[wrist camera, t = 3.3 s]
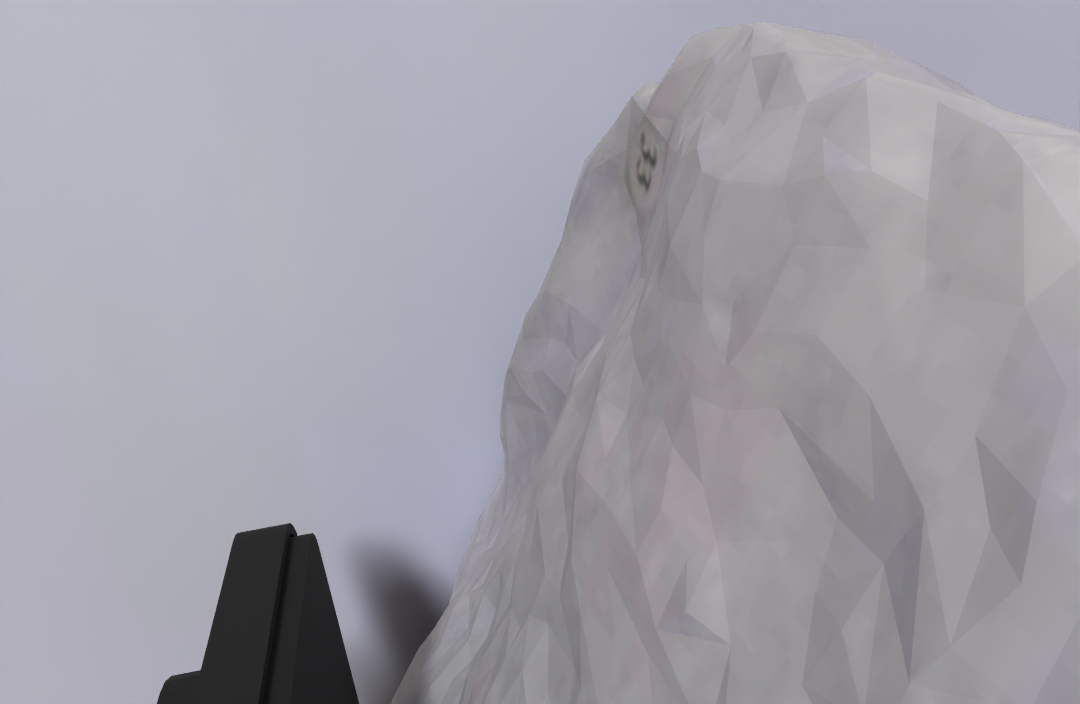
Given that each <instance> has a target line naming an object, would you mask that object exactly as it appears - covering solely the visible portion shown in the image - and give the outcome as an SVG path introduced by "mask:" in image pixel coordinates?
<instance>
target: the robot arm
mask: <svg viewBox="0 0 1080 704" xmlns="http://www.w3.org/2000/svg"><path fill="white" fill-rule="evenodd" d="M157 704H359V701H358V697H357V694H356V690H355V686H354V682H353V678H352V674H351V670H350V666H349V662H348V658H347V655H346V651H345V647H344V643H343V639H342V635H341V631H340V627H339V623H338V620H337V616H336V612H335V608H334V604H333V600H332V596H331V592H330V588H329V585H328V581H327V577H326V573H325V569H324V565H323V561H322V557H321V553H320V550H319V546H318V542H317V539H316V537H315V535H314V534H313V533H311V534H306V535H300V536H297V533H296V531H295V528H294V526H293V525H292V524H291V523H289V524H284V525H278V526H273V527H267V528H262V529H257V530H251V531H246V532H240V533H238V534H236V535H235V538H234V540H233V544H232V548H231V552H230V556H229V560H228V564H227V568H226V572H225V576H224V580H223V584H222V588H221V592H220V596H219V600H218V604H217V608H216V612H215V616H214V620H213V624H212V628H211V632H210V636H209V640H208V644H207V648H206V652H205V656H204V660H203V664H202V668H201V670H200V671H195V672H189V673H184V674H179V675H174V676H171V677H170V678H169V679H168V680H166V681H165V683H164V685H163V688H162V690H161V692H160V695H159V698H158V702H157Z"/></svg>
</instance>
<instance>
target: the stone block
mask: <svg viewBox="0 0 1080 704" xmlns="http://www.w3.org/2000/svg"><path fill="white" fill-rule="evenodd" d="M500 436H501V440H502V444H503V448H504V452H505V472H504V474H503V476H502V477H501V479H500V481H499V482H498V484H497V486H496V488H495V490H494V492H493V494H492V496H491V498H490V500H489V503H488V505H487V506H486V508H485V510H484V512H483V513H482V515H481V517H480V519H479V521H478V524H477V526H476V528H475V531H474V533H473V536H472V538H471V541H470V543H469V546H468V548H467V550H466V553H465V556H464V558H463V561H462V564H461V566H460V569H459V572H458V574H457V577H456V580H455V582H454V585H453V589H452V593H451V597H450V601H449V605H448V607H447V608H446V610H445V611H444V613H443V615H442V616H441V618H440V619H439V621H438V622H437V624H436V626H435V627H434V629H433V630H432V631H431V633H430V634H429V635H428V637H427V638H426V640H425V641H424V642H423V643H422V644H421V646H420V647H419V649H418V651H417V652H416V654H415V656H414V658H413V660H412V662H411V664H410V666H409V667H408V669H407V671H406V673H405V675H404V677H403V679H402V682H401V684H400V686H399V688H398V690H397V692H396V694H395V696H394V698H393V700H392V702H391V704H1080V131H1079V130H1076V129H1073V128H1070V127H1067V126H1064V125H1061V124H1058V123H1055V122H1052V121H1049V120H1046V119H1043V118H1038V117H1031V116H1024V115H1018V114H1015V113H1012V112H1008V111H1005V110H1002V109H998V108H997V107H995V106H993V105H992V104H990V103H988V102H987V101H985V100H984V99H982V98H980V97H979V96H977V95H975V94H974V93H972V92H971V91H969V90H968V89H966V88H965V87H964V86H962V85H961V84H959V83H958V82H956V81H954V80H951V79H949V78H947V77H945V76H943V75H941V74H938V73H936V72H934V71H932V70H930V69H928V68H926V67H923V66H921V65H919V64H917V63H915V62H913V61H911V60H909V59H907V58H904V57H902V56H900V55H898V54H896V53H894V52H892V51H890V50H888V49H886V48H884V47H882V46H880V45H878V44H876V43H874V42H872V41H870V40H868V39H863V38H856V37H848V36H840V35H833V34H827V33H821V32H816V31H810V30H805V29H799V28H794V27H788V26H783V25H777V24H772V23H766V22H759V23H753V24H746V25H738V26H729V27H720V28H715V29H712V30H709V31H707V32H704V33H701V34H698V35H695V36H693V37H691V38H690V39H689V41H688V42H687V43H686V45H685V46H684V48H683V49H682V51H681V52H680V54H679V55H678V57H677V58H676V60H675V61H674V63H673V64H672V66H671V67H670V68H669V70H668V71H667V73H666V74H665V76H664V77H663V79H662V80H661V82H660V83H659V84H658V83H647V84H646V85H645V86H644V87H642V88H641V89H640V90H639V91H638V92H636V93H635V94H634V95H633V96H632V97H631V99H630V100H629V102H628V103H627V105H626V107H625V108H624V110H623V111H622V113H621V114H620V116H619V118H618V119H617V121H616V122H615V124H614V125H613V126H612V128H611V129H610V130H609V131H608V133H607V134H606V135H605V136H604V137H603V139H602V140H601V141H600V142H599V143H598V145H597V146H596V147H595V148H594V150H593V151H592V152H591V153H590V154H589V156H588V157H587V158H586V160H585V162H584V165H583V168H582V170H581V173H580V176H579V179H578V181H577V184H576V187H575V189H574V192H573V196H572V200H571V204H570V208H569V212H568V217H567V221H566V225H565V229H564V233H563V237H562V240H561V243H560V245H559V247H558V250H557V252H556V254H555V257H554V259H553V261H552V264H551V266H550V268H549V270H548V273H547V275H546V277H545V280H544V282H543V284H542V287H541V289H540V291H539V294H538V296H537V298H536V299H535V301H534V303H533V304H532V306H531V307H530V309H529V311H528V312H527V314H526V317H525V320H524V323H523V326H522V329H521V332H520V335H519V338H518V341H517V344H516V347H515V350H514V353H513V356H512V359H511V362H510V365H509V368H508V371H507V374H506V377H505V382H504V391H503V400H502V409H501V433H500Z"/></svg>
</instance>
